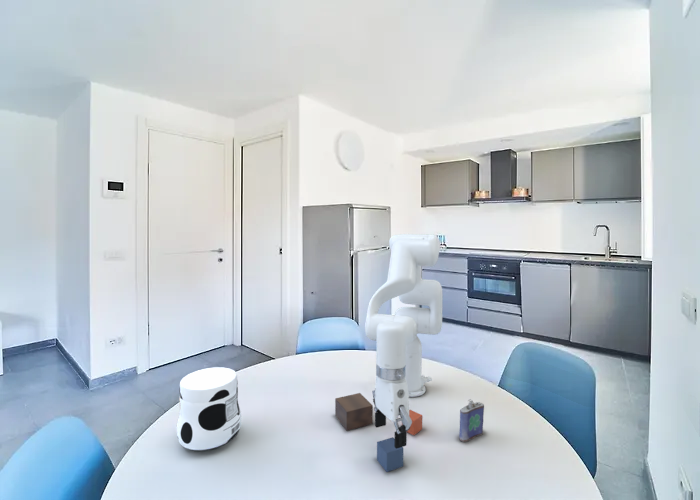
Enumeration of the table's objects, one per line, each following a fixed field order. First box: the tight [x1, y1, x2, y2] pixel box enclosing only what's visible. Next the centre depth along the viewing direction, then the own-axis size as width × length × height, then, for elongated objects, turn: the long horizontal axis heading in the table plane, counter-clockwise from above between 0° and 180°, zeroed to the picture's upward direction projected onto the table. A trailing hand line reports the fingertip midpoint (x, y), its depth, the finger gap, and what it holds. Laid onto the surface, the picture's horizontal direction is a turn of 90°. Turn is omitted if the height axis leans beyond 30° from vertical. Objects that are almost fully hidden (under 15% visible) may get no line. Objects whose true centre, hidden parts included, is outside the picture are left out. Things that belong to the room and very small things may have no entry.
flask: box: [458, 398, 485, 443], centre depth 100 cm, size 9×3×11 cm, turn 121°
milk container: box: [176, 366, 242, 452], centre depth 98 cm, size 17×17×18 cm
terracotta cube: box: [407, 409, 423, 436], centre depth 103 cm, size 4×4×4 cm
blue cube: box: [376, 436, 404, 473], centre depth 88 cm, size 5×5×5 cm
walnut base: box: [334, 392, 374, 432], centre depth 108 cm, size 9×9×6 cm
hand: (389, 435), depth 88 cm, fingers open, 9 cm apart
